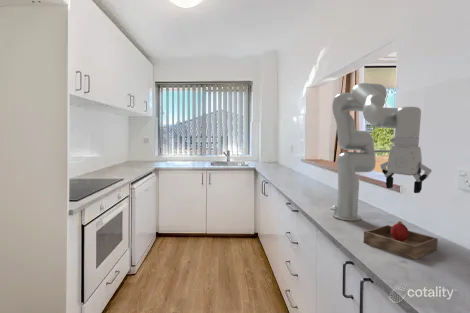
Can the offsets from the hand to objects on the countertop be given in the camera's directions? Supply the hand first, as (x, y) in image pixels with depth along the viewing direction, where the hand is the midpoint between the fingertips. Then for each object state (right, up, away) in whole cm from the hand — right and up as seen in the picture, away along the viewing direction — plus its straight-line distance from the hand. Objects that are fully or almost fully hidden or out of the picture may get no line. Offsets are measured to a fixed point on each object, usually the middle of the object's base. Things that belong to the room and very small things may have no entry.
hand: (402, 190), depth 110 cm
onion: (-1, -19, +1) cm, 19 cm away
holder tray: (-1, -20, +1) cm, 20 cm away
